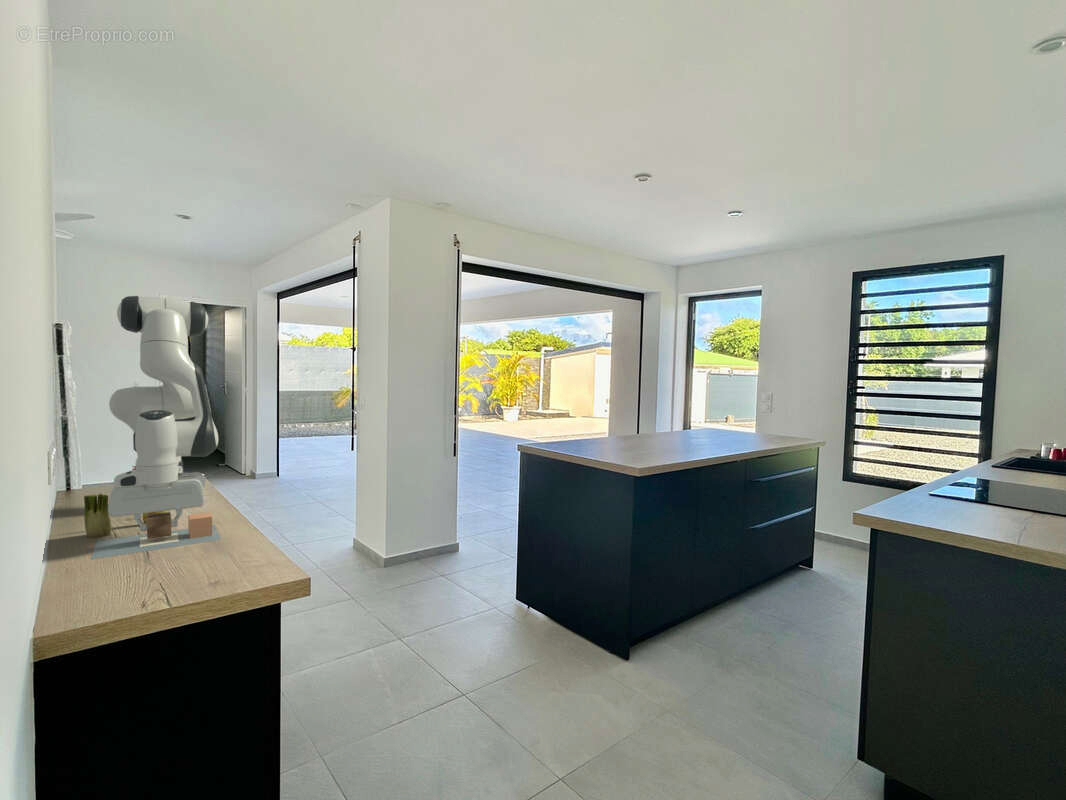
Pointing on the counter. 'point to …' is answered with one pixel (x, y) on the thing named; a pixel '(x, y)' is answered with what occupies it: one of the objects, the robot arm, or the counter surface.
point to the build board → (148, 543)
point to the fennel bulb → (97, 516)
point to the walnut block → (158, 525)
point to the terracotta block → (200, 525)
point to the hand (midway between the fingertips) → (159, 528)
